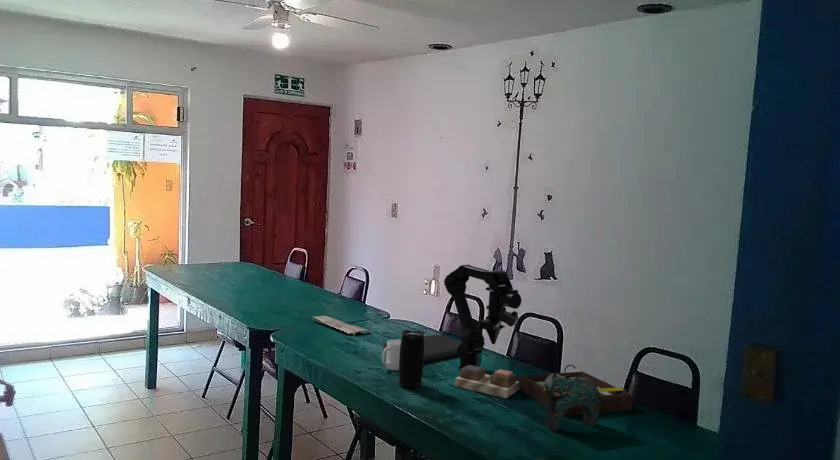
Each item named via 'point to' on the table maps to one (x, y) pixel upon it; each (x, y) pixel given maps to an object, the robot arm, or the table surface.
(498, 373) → the terracotta key
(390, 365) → the cup
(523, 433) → the table surface
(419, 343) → the portable speaker
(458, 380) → the key console
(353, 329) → the beige notched slab
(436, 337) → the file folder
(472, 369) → the charcoal key
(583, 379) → the ceramic cat
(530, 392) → the brown wooden tray
